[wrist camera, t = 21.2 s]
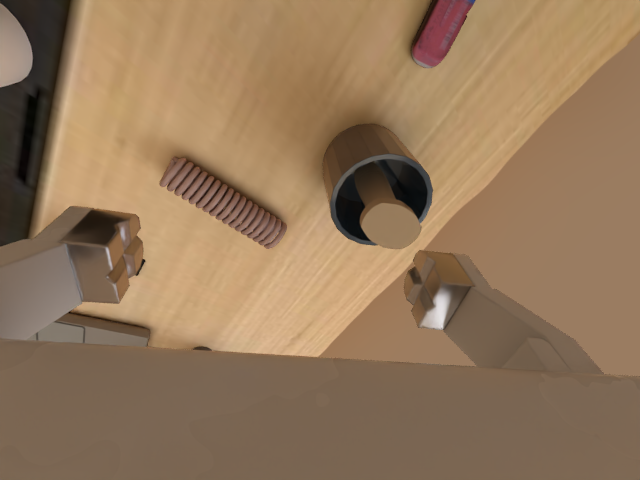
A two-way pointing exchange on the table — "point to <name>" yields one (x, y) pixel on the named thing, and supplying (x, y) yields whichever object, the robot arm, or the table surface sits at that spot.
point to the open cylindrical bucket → (389, 156)
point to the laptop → (92, 332)
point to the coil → (222, 203)
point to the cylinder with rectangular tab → (13, 49)
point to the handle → (384, 210)
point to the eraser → (439, 31)
